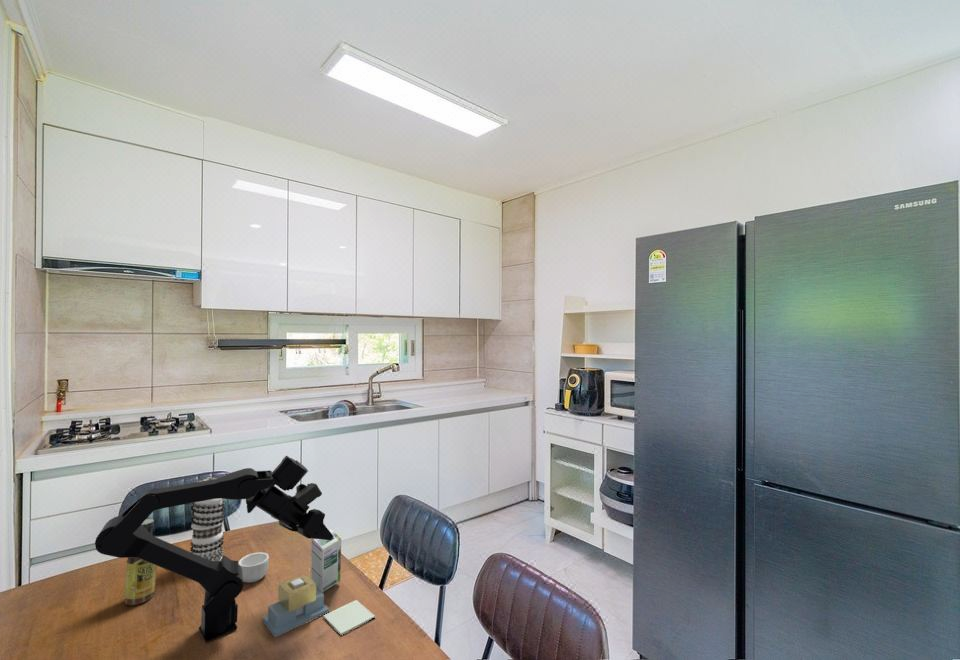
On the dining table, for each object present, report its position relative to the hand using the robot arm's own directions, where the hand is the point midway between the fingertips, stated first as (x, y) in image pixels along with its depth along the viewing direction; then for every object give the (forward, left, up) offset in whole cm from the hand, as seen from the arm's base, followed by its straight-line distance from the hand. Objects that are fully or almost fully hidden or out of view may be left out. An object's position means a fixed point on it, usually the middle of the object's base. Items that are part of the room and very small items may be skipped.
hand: (325, 535), depth 113 cm
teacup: (-9, +24, -17) cm, 31 cm away
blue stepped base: (-8, -2, -17) cm, 19 cm away
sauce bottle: (-34, +33, -17) cm, 50 cm away
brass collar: (-8, -2, -13) cm, 15 cm away
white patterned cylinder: (-17, +42, -17) cm, 48 cm away
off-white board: (+1, -12, -17) cm, 20 cm away
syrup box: (+3, +6, -16) cm, 17 cm away
